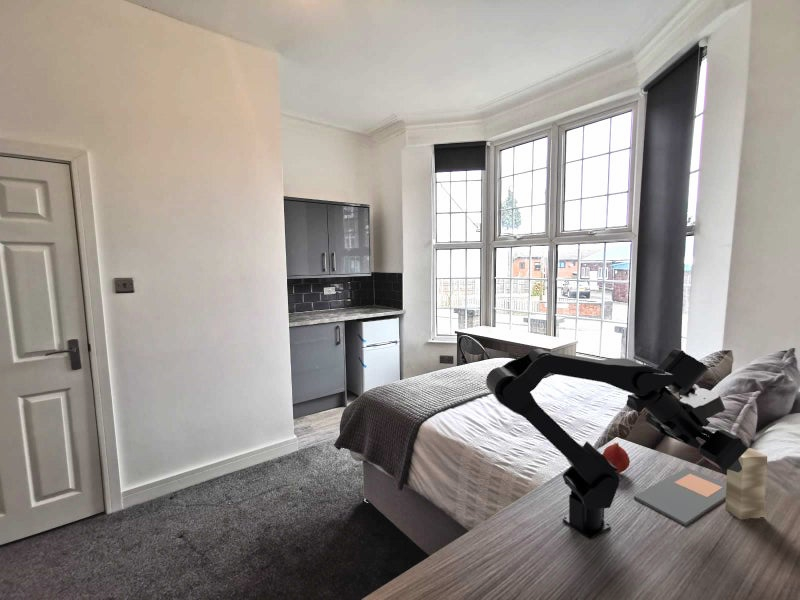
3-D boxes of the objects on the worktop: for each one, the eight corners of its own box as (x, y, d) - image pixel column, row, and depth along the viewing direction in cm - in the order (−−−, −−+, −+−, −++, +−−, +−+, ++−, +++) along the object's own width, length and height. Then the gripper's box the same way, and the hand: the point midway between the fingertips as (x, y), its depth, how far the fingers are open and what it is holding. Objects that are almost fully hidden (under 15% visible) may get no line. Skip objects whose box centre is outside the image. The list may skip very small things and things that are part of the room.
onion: (597, 470, 93) (597, 440, 92) (612, 464, 96) (612, 434, 95) (619, 482, 88) (619, 450, 87) (634, 475, 90) (635, 444, 90)
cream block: (740, 519, 74) (743, 457, 73) (725, 509, 77) (728, 449, 76) (763, 517, 74) (767, 456, 73) (748, 507, 78) (751, 448, 76)
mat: (685, 525, 73) (685, 522, 73) (633, 498, 82) (633, 495, 82) (738, 490, 83) (738, 487, 83) (687, 469, 92) (687, 467, 92)
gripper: (739, 394, 63) (798, 452, 65) (659, 365, 82) (706, 410, 83) (694, 441, 64) (752, 497, 65) (624, 402, 82) (671, 446, 84)
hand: (717, 457), depth 74 cm, fingers open, 9 cm apart
